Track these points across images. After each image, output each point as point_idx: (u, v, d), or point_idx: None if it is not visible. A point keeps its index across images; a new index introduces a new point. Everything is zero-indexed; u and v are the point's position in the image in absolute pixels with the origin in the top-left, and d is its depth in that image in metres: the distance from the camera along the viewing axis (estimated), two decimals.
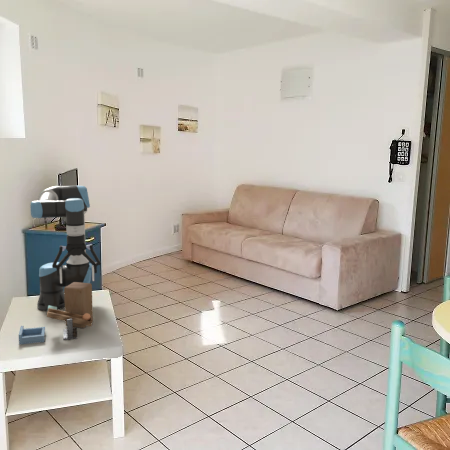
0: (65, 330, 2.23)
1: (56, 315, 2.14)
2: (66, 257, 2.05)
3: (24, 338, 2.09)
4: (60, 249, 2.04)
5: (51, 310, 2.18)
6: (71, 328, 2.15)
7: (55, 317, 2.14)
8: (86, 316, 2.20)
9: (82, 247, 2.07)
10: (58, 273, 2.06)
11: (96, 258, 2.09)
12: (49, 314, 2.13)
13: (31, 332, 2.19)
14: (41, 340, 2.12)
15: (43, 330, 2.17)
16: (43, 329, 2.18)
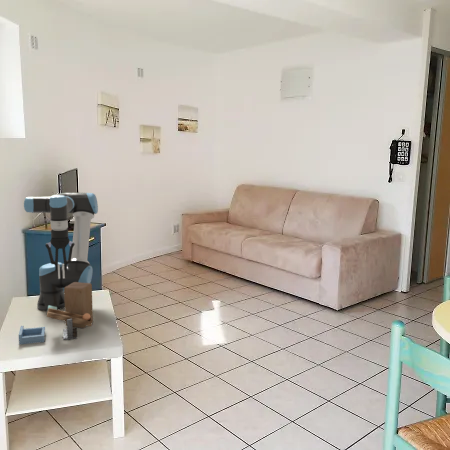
0: (65, 330, 2.23)
1: (56, 315, 2.14)
2: (56, 252, 2.21)
3: (24, 338, 2.09)
4: (47, 247, 2.20)
5: (51, 310, 2.18)
6: (71, 328, 2.15)
7: (55, 317, 2.14)
8: (86, 316, 2.20)
9: (66, 240, 2.22)
10: (56, 269, 2.23)
11: (70, 256, 2.24)
12: (49, 314, 2.13)
13: (31, 332, 2.19)
14: (41, 340, 2.12)
15: (43, 330, 2.17)
16: (43, 329, 2.18)
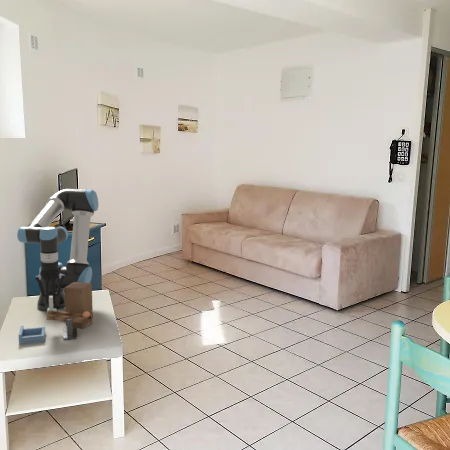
0: (65, 330, 2.23)
1: (55, 317, 2.14)
2: (47, 284, 2.18)
3: (24, 338, 2.09)
4: (37, 279, 2.17)
5: (50, 312, 2.18)
6: (71, 328, 2.15)
7: (55, 319, 2.14)
8: (86, 314, 2.20)
9: (56, 272, 2.19)
10: (47, 301, 2.20)
11: (59, 288, 2.20)
12: (48, 316, 2.13)
13: (31, 332, 2.19)
14: (41, 340, 2.12)
15: (43, 330, 2.17)
16: (43, 329, 2.18)
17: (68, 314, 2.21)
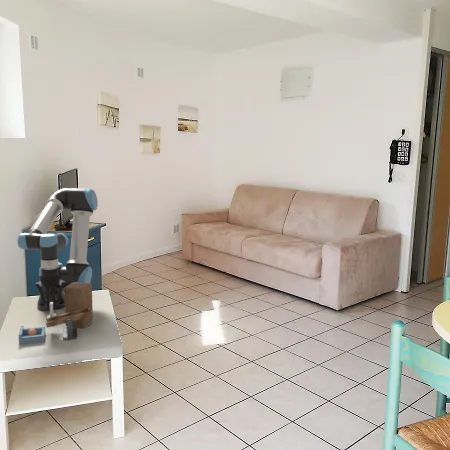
0: (65, 330, 2.23)
1: (54, 322, 2.14)
2: (47, 291, 2.19)
3: (24, 338, 2.09)
4: (37, 286, 2.17)
5: (49, 319, 2.18)
6: (71, 328, 2.15)
7: (55, 324, 2.14)
8: (30, 333, 2.13)
9: (56, 279, 2.19)
10: (48, 308, 2.21)
11: (59, 295, 2.21)
12: (48, 324, 2.13)
13: None
14: (41, 340, 2.12)
15: (43, 330, 2.17)
16: (43, 329, 2.18)
17: (67, 315, 2.21)
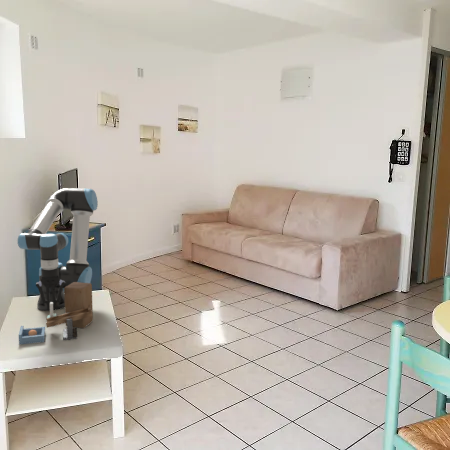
0: (65, 330, 2.23)
1: (54, 322, 2.14)
2: (47, 291, 2.19)
3: (24, 338, 2.09)
4: (37, 286, 2.17)
5: (49, 319, 2.18)
6: (71, 328, 2.15)
7: (55, 324, 2.14)
8: (30, 335, 2.14)
9: (56, 279, 2.19)
10: (48, 308, 2.21)
11: (59, 295, 2.21)
12: (48, 324, 2.13)
13: None
14: (41, 340, 2.12)
15: (43, 330, 2.17)
16: (43, 329, 2.18)
17: (67, 315, 2.21)
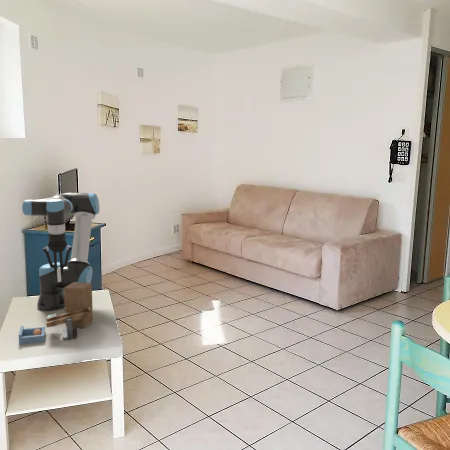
0: (65, 330, 2.23)
1: (54, 322, 2.14)
2: (54, 256, 2.22)
3: (24, 338, 2.09)
4: (45, 251, 2.20)
5: (49, 319, 2.18)
6: (71, 328, 2.15)
7: (55, 324, 2.14)
8: (35, 333, 2.14)
9: (63, 244, 2.22)
10: (56, 272, 2.24)
11: (66, 260, 2.24)
12: (48, 324, 2.13)
13: (31, 332, 2.19)
14: (41, 340, 2.12)
15: (43, 330, 2.17)
16: (43, 329, 2.18)
17: (67, 315, 2.21)
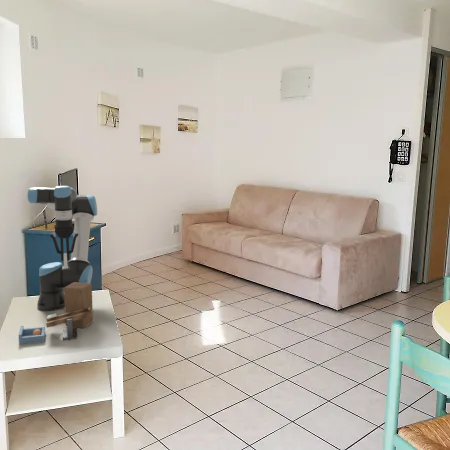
0: (65, 330, 2.23)
1: (54, 322, 2.14)
2: (61, 241, 2.25)
3: (24, 338, 2.09)
4: (52, 236, 2.23)
5: (49, 319, 2.18)
6: (71, 328, 2.15)
7: (55, 324, 2.14)
8: (35, 333, 2.14)
9: (70, 230, 2.25)
10: (62, 258, 2.27)
11: (73, 246, 2.27)
12: (48, 324, 2.13)
13: (31, 332, 2.19)
14: (41, 340, 2.12)
15: (43, 330, 2.17)
16: (43, 329, 2.18)
17: (67, 315, 2.21)
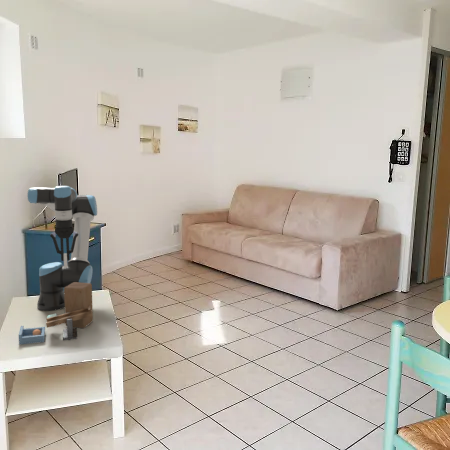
0: (65, 330, 2.23)
1: (54, 322, 2.14)
2: (61, 241, 2.25)
3: (24, 338, 2.09)
4: (52, 236, 2.23)
5: (49, 319, 2.18)
6: (71, 328, 2.15)
7: (55, 324, 2.14)
8: (34, 333, 2.14)
9: (70, 230, 2.25)
10: (62, 258, 2.27)
11: (73, 246, 2.27)
12: (48, 324, 2.13)
13: (31, 332, 2.19)
14: (41, 340, 2.12)
15: (43, 330, 2.17)
16: (43, 329, 2.18)
17: (67, 315, 2.21)
